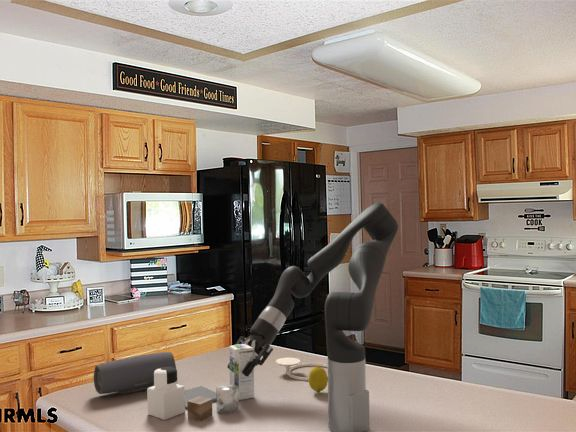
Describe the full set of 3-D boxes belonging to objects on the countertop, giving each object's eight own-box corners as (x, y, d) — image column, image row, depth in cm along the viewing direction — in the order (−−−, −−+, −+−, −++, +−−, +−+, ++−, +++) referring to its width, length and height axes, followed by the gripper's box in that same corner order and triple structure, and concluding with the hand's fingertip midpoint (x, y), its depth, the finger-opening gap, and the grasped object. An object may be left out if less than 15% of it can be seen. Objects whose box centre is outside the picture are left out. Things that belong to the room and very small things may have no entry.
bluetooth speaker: (165, 378, 176) (164, 347, 176) (177, 385, 169) (176, 353, 168) (93, 393, 163) (92, 360, 162) (103, 402, 155) (102, 367, 155)
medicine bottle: (168, 406, 151) (167, 363, 151) (185, 412, 147) (184, 367, 146) (147, 414, 146) (146, 369, 145) (164, 420, 141) (163, 374, 141)
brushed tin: (243, 410, 147) (242, 388, 147) (224, 416, 143) (224, 393, 143) (230, 404, 152) (230, 383, 152) (212, 410, 148) (211, 387, 148)
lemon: (326, 396, 157) (326, 368, 156) (307, 395, 158) (306, 368, 157) (329, 390, 162) (328, 363, 162) (310, 389, 163) (310, 362, 163)
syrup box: (229, 395, 159) (228, 345, 159) (248, 391, 162) (247, 342, 162) (235, 401, 154) (234, 349, 154) (255, 397, 157) (254, 347, 156)
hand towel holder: (340, 368, 170) (274, 369, 170) (341, 382, 170) (275, 383, 170) (336, 353, 187) (276, 354, 187) (336, 365, 187) (276, 366, 187)
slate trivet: (223, 398, 156) (223, 395, 156) (186, 409, 149) (186, 406, 149) (201, 388, 165) (201, 385, 165) (165, 398, 158) (165, 395, 158)
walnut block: (212, 416, 144) (212, 399, 144) (200, 421, 140) (200, 404, 140) (199, 412, 146) (199, 396, 146) (187, 418, 143) (187, 401, 143)
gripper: (290, 336, 161) (259, 385, 153) (261, 328, 171) (230, 373, 164) (276, 320, 157) (243, 370, 150) (246, 313, 168) (215, 359, 161)
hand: (237, 371), depth 157 cm, fingers closed on syrup box, 6 cm apart
